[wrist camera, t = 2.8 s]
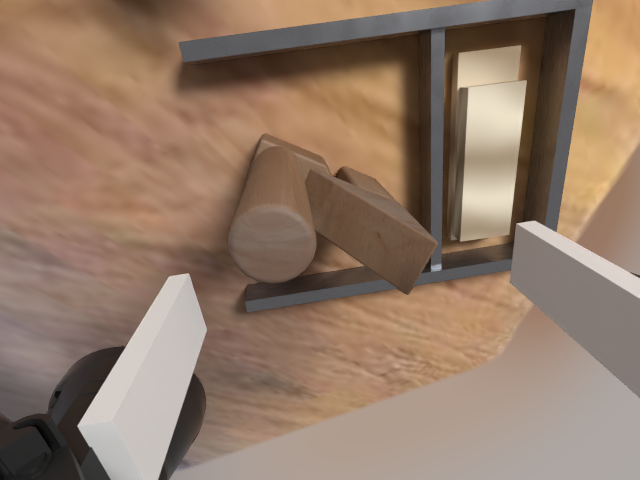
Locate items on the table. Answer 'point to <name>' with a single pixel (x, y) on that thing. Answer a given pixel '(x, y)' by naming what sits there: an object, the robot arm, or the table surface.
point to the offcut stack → (484, 142)
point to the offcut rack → (436, 125)
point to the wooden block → (321, 219)
